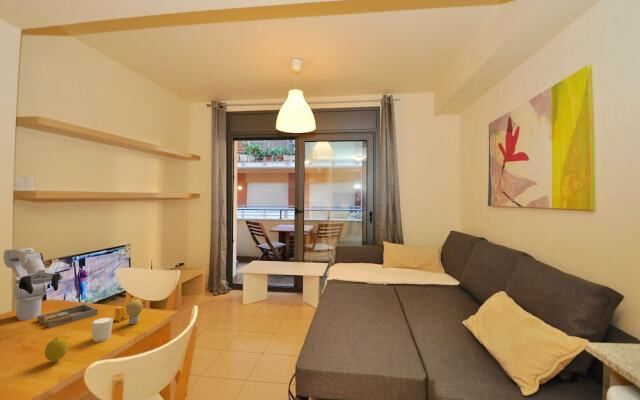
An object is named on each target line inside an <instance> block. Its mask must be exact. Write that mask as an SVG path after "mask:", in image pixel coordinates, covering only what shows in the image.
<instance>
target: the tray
mask: <svg viewBox="0 0 640 400" xmlns="http://www.w3.org/2000/svg"><path fill="white" fill-rule="evenodd" d="M82 310H85V311H87V312H83V313H79V314H75V315H71V316H72V321H74V322H77V321H80V319H81V320H84V319H87V317H88V318H91V316H92V317H95V316H98V308H95V307H93V306H91V305H88V304H87V303H84V304H83V303H82V304H80V305H76V306H72V307H68V308H62V309H60V310H59V311H62V312H67V313H69V314H70V313H74V312H78V311H82ZM94 315H95V316H94ZM83 318H84V319H83ZM76 320H77V321H76Z"/></svg>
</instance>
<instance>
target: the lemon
mask: <svg viewBox="0 0 640 400" xmlns="http://www.w3.org/2000/svg"><path fill="white" fill-rule="evenodd" d="M67 350H68V343H67V341H66V339H65V338H62V337H55V338H52V340H50V341H49V342H48V343H47V344H46V347H45V350H44V357H45V359H46V360H47V361H50V362H54V363H55V362H58V361H59V360H61V359H62V358H63V357H64V356H65V355H66V353H67Z"/></svg>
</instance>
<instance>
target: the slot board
mask: <svg viewBox="0 0 640 400" xmlns="http://www.w3.org/2000/svg"><path fill="white" fill-rule="evenodd" d="M83 312H87V311H85V310H82V311H78V312H74V313H70V314H69V315H67V316H64V317H60V318H56V319H52V320H48V321H46V324H44V323H43V318H44V317H46V316H50V315H55V314H58V313H62V311H60V310H56V311H53V312H49V313H45V314H41V315H40V316H38V317H36V318H37V322H38V323H40V324H41V325H43V326H45V327H46V328H48V329H51V328H54V327H59V326H62V325H67V324H70V323H73V322H77V321H78V320H76V321H72V316H71V315H75V314H79V313H83ZM95 316H96V315H94V316H91V317H95ZM91 317H90V318H91ZM87 318H89V317H87ZM87 318H86V319H87ZM80 320H85V318H83V319H80ZM80 320H79V321H80Z"/></svg>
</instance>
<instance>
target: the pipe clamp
mask: <svg viewBox="0 0 640 400" xmlns="http://www.w3.org/2000/svg"><path fill="white" fill-rule="evenodd" d="M136 300H138V301H141V302H142V303H143V300H142V299H136ZM128 318H129V315H128V314H127V312H126V309H125V306H116V307H115V309H114V321H116V323H119V324H120V323H122V322H124V321H127V320H129V319H128Z"/></svg>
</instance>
